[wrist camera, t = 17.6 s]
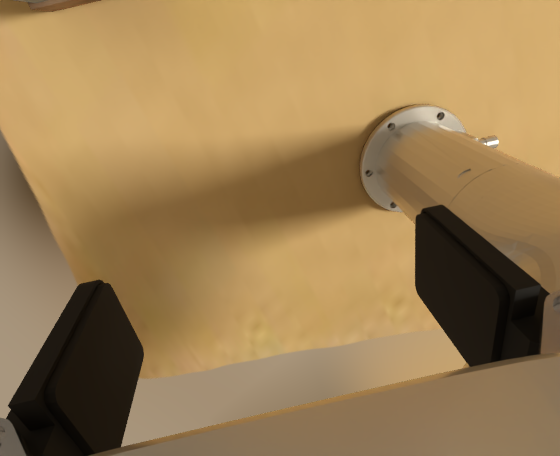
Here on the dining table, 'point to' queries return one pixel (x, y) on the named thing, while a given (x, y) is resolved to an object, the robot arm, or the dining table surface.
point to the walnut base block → (58, 4)
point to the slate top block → (32, 1)
